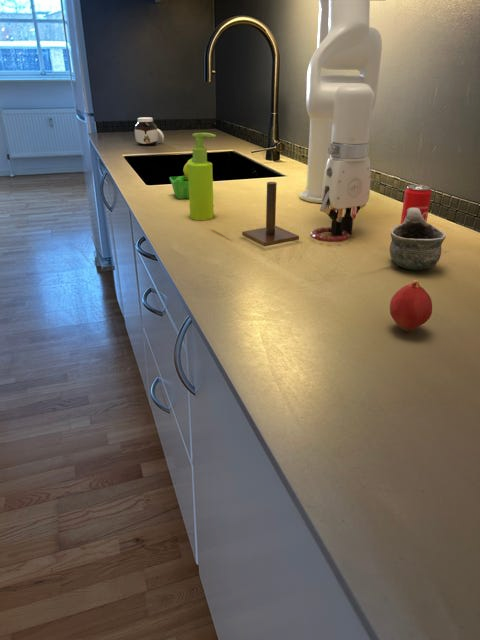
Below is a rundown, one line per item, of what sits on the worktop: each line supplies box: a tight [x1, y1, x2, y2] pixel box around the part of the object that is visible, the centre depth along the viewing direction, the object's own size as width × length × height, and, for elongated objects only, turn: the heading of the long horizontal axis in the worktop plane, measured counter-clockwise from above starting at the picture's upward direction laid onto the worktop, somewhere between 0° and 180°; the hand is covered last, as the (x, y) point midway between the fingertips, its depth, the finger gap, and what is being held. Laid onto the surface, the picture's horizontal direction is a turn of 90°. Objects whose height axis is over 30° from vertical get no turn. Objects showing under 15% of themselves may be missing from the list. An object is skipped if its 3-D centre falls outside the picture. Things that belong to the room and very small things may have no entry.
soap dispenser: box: [188, 132, 217, 221], centre depth 124 cm, size 6×7×20 cm
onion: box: [389, 279, 433, 332], centre depth 73 cm, size 6×6×8 cm
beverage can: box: [399, 184, 432, 225], centre depth 108 cm, size 5×5×12 cm
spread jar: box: [134, 116, 165, 147], centre depth 236 cm, size 12×11×12 cm
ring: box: [309, 226, 351, 243], centre depth 112 cm, size 8×8×2 cm
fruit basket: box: [169, 157, 193, 200], centre depth 145 cm, size 11×9×11 cm
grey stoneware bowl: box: [389, 208, 447, 271], centre depth 97 cm, size 10×12×10 cm
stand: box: [241, 181, 300, 247], centre depth 109 cm, size 9×9×12 cm
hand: (340, 236), depth 114 cm, fingers closed on ring, 2 cm apart
